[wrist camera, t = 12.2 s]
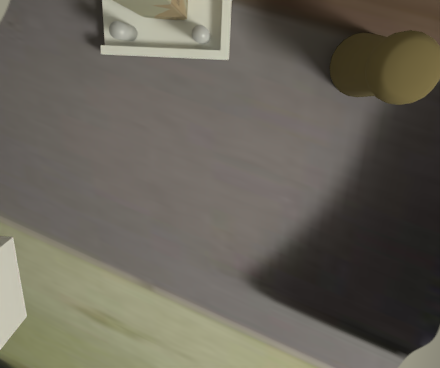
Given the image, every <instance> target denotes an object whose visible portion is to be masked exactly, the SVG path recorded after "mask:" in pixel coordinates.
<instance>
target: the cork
mask: <svg viewBox="0 0 440 368" xmlns="http://www.w3.org/2000/svg"><path fill="white" fill-rule="evenodd" d="M330 76H331V79H332V81H333V84H334V85H335V86H336V88H337V89H338V90H339V91H340V92H342V93H344V94H346V95H348V96H353V97H365V96H376V97H377V98H378V99H380V100H382V101H384V102H386V103H390V104H396V105H401V104H408V103H412V102H415V101H417V100H419V99H421V98H423V97H424V96H426V95H427V94H428V93H429V92H430V91H431V90H433V88H434V87H435V85H436V84H437V82H438V81H439V79H440V46H439V45H438V43H437V42H436V41H435V40H434V39H433V38H432V37H430V36H428V35H426V34H425V33H423V32H418V31H412V30H409V31H404V32H398V33H394V34H392V35H390V36H388V37H385V36H381V35H376V34H371V33H365V32H364V33H359V34H354V35H352V36H350V37H348V38H346V39H345V40H344V41H343V42H342V43H341V44H340V45H339V46H338V47H337V48H336V50H335V52H334V54H333V55H332V59H331V63H330Z"/></svg>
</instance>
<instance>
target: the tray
mask: <svg viewBox="0 0 440 368" xmlns="http://www.w3.org/2000/svg"><path fill="white" fill-rule="evenodd" d="M231 6H232V0H188V12H187V19H186V20H168V19H155V18H145V17H142V16H140V15H139V14H137V13H135V12H133V11H131V10H130V9H128V8H126V7H124V6H122V5H120V4H119V3H117V2H115V1H113V0H102V7H103V23H104V39H105V45H101V54H106V55H129V56H151V57H173V58H195V59H218V60H229V48H230V27H231Z"/></svg>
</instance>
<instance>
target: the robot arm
mask: <svg viewBox="0 0 440 368" xmlns="http://www.w3.org/2000/svg"><path fill="white" fill-rule="evenodd" d="M26 317H27V314H26V309H25V303H24V297H23V291H22V286H21V280H20V274H19V269H18V263H17V257H16V251H15V246H14V240H13V237H4V236H0V349H1V348H2V347H3V346H4V344H5V343H6V342H7V341H8V339H9V338H10V337H11V336H12V334H13V333H14V332H15V331H16V329H17V328H18V327H19V326H20V324H21V323H22V322H23V320H24V319H25V318H26Z"/></svg>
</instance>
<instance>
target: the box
mask: <svg viewBox="0 0 440 368" xmlns="http://www.w3.org/2000/svg"><path fill="white" fill-rule="evenodd" d="M113 1H115V2H117V3H119V4H120V5H122V6H124V7H126V8H128V9H130V10H131V11H133V12H135V13H137V14H139V15H140V16H142V17H145V18H155V19H168V20H186V19H187V12H188V0H113Z"/></svg>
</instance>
